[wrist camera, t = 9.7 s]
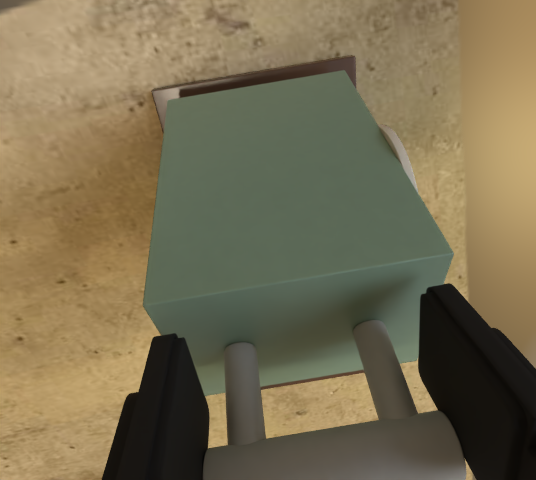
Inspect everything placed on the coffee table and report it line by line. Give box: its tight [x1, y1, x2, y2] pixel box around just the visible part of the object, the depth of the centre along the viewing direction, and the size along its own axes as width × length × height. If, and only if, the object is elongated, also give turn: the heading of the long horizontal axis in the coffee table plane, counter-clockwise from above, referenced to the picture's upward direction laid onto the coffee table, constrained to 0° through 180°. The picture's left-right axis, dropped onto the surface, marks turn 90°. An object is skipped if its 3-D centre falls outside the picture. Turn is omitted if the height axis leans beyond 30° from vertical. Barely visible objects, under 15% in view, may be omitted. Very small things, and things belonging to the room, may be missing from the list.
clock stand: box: [152, 55, 365, 390], centre depth 25 cm, size 22×10×1 cm, turn 8°
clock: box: [143, 70, 466, 480], centre depth 14 cm, size 6×8×15 cm
